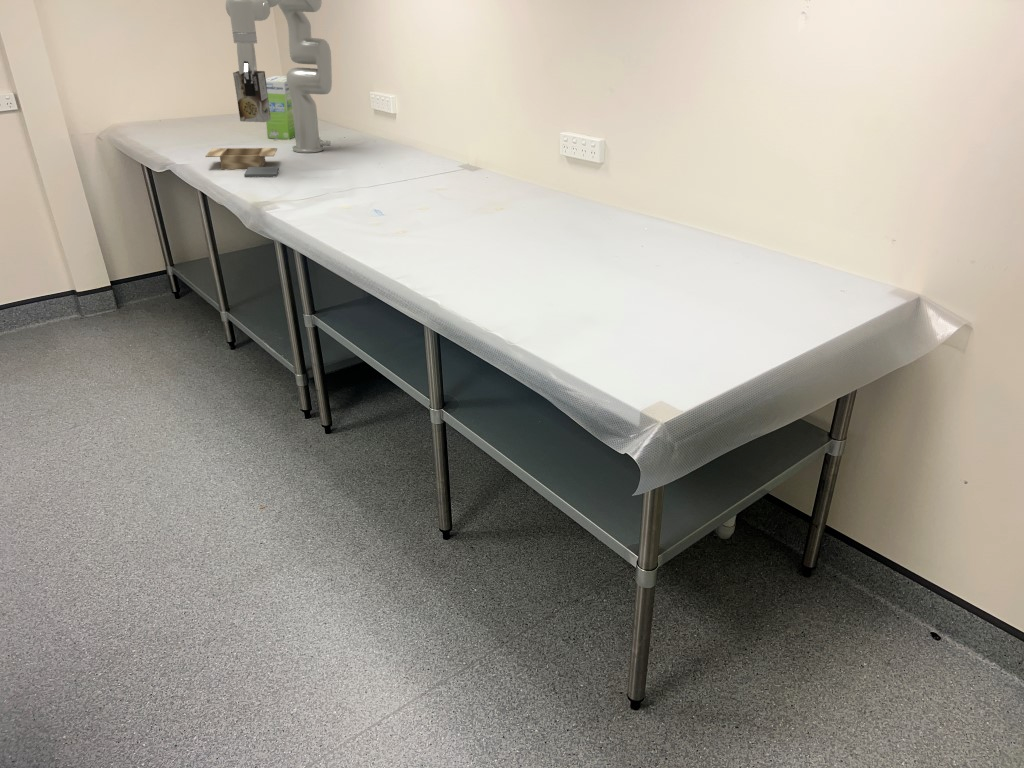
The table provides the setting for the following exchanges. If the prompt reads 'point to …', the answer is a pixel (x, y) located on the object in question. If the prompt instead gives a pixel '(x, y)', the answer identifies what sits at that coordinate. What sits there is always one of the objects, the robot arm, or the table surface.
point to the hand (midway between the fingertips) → (252, 93)
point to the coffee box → (252, 98)
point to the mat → (261, 172)
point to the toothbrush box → (279, 109)
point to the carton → (241, 157)
